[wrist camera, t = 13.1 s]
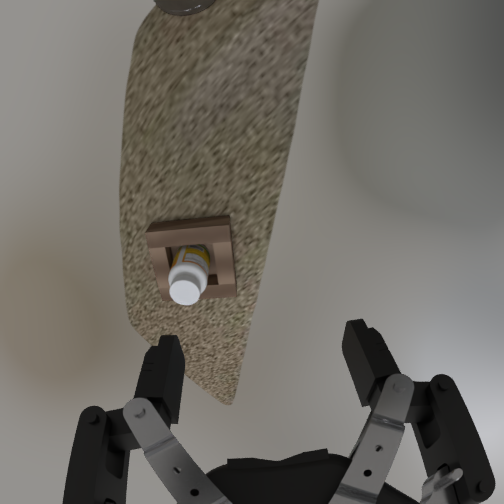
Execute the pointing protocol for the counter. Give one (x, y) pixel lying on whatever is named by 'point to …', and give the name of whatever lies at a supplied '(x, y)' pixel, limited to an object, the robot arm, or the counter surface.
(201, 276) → the supplement bottle
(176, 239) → the socket block
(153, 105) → the counter surface
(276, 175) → the counter surface
